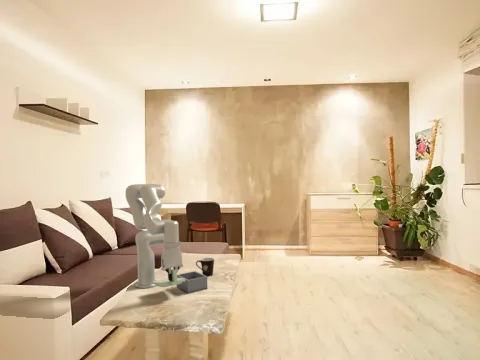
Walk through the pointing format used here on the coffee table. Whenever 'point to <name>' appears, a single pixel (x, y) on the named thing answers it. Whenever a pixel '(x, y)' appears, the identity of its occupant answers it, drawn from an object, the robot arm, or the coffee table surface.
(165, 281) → the lid
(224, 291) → the coffee table surface
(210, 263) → the coffee mug
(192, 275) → the tub
